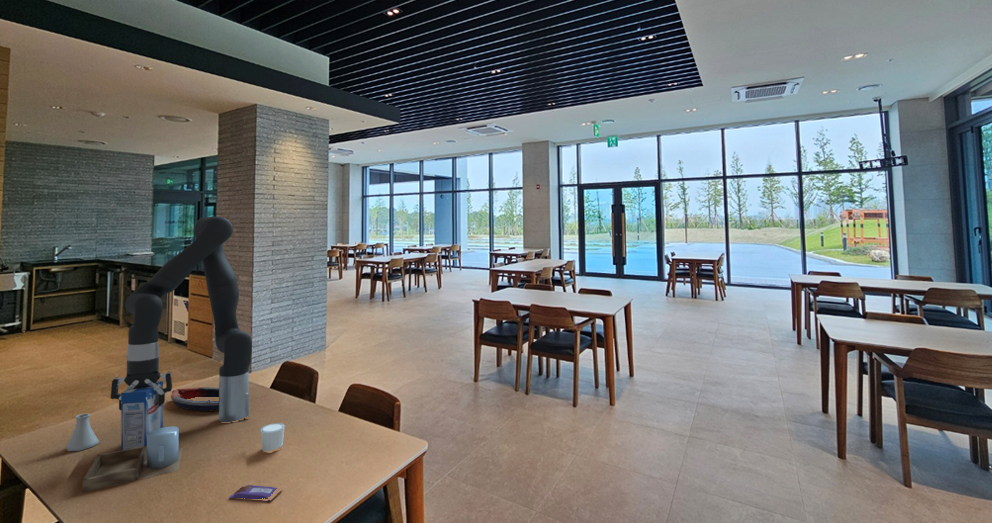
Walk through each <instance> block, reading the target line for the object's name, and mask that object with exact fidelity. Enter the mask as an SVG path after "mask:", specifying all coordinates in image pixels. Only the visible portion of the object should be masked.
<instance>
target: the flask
mask: <svg viewBox="0 0 992 523" xmlns="http://www.w3.org/2000/svg"><path fill="white" fill-rule="evenodd" d="M90 417H91V413H87V412H86V413H80V414H77V415H76V416H74V418H75V419H76V422H75V423H76V424H75V427H74V431H73V432H72V434H71V437H70V439H69V441H68V443H67V445H66V446H65V450H67V451H68V452H80V451H84V450H86V449H90V448H92V447H94V446H96V445H97V444H99V443H100V440H99V439H98V437H97V436H96V434H95V432H94V430H93V428H92V427H91V423H90Z"/></svg>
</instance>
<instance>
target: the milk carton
mask: <svg viewBox="0 0 992 523" xmlns="http://www.w3.org/2000/svg"><path fill="white" fill-rule="evenodd" d="M157 382H158V383H159V384H160V385H161V386H162V387H163V388H164V380H158V381H157ZM156 385H158V384H156ZM154 387H155V386H154ZM154 387H145V388H137V389H132V390H126V389H125V390H126V391H125V390H124V391H123V392H121V393H120V394H121V410H120V413H121V414H120V422H121V423H120V427H121V428H120V430H121V431H120V432H121V433H120V436H121V439H120V442H121V444H120V447H121V448H120V451H121V450H126V449H131V448H136V447H142V446H147V434H148V433H149V432H151V431H153V430H156V429H159V428H163V427H164V404H162V406H159V407H158V395H159V393H158V392H157V391H155V390H154Z"/></svg>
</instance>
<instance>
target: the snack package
mask: <svg viewBox="0 0 992 523" xmlns="http://www.w3.org/2000/svg"><path fill="white" fill-rule="evenodd" d="M276 489H278V488H277V487H273V486H266V485H265V486H263V485H252V484H250V485H249V484H248V485H245V486H241V487H240V488H239V489H237V490H236V491H235V492H233V494H232V495H230V496H229V497H228V499H233V498H243V499H244V498H245V499H262V498H263V499H264V498H265V499H268V497H270V496H271V494H273V492H274V491H275V490H276ZM243 499H242V500H243Z"/></svg>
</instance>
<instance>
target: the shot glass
mask: <svg viewBox="0 0 992 523" xmlns="http://www.w3.org/2000/svg"><path fill="white" fill-rule="evenodd" d="M285 427H286V425H285V424H284V423H281V422H274V423H269V424H266V425H264V426H262V427H261V428H260V438H261V447H262V449H261V450H264V451H270V450H274V449H277V448H279V447H281V446H282V445H283V446H284V444H283V443H284V435H285V429H286V428H285Z"/></svg>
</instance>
